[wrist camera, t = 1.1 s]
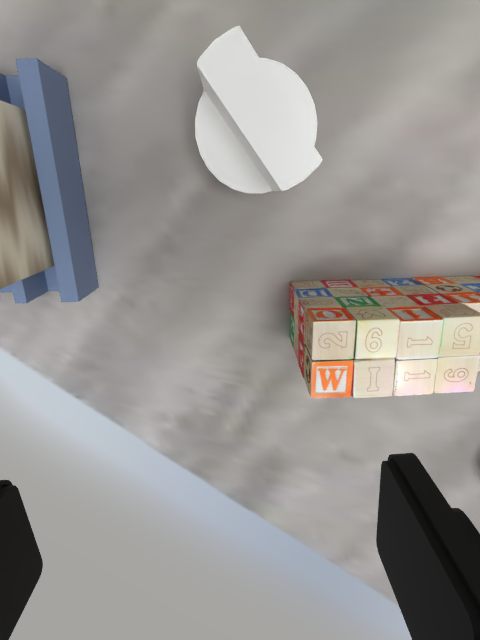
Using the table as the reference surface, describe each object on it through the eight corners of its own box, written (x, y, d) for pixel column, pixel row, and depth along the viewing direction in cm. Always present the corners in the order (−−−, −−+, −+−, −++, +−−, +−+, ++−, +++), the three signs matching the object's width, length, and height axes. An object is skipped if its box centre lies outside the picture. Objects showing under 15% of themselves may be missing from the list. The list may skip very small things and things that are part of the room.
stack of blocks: (501, 272, 38) (620, 310, 26) (489, 331, 40) (595, 390, 28) (288, 280, 38) (312, 321, 26) (287, 338, 40) (310, 400, 28)
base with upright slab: (180, 127, 33) (152, 95, 22) (263, 55, 31) (281, -21, 20) (242, 213, 35) (245, 224, 24) (322, 150, 34) (367, 131, 22)
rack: (-60, 81, 31) (-112, 62, 27) (66, 78, 31) (36, 58, 27) (-8, 290, 37) (-43, 304, 33) (98, 287, 37) (78, 301, 33)
